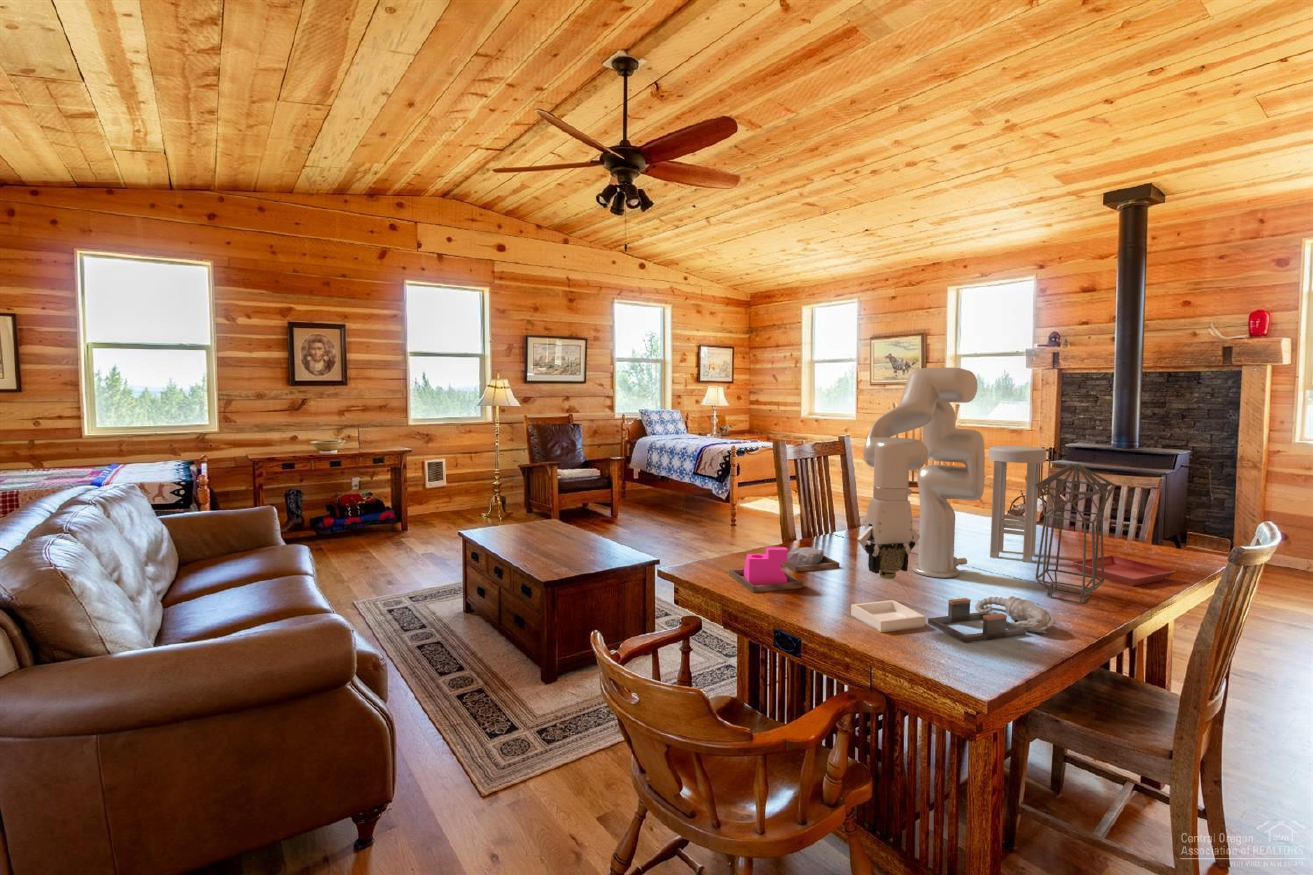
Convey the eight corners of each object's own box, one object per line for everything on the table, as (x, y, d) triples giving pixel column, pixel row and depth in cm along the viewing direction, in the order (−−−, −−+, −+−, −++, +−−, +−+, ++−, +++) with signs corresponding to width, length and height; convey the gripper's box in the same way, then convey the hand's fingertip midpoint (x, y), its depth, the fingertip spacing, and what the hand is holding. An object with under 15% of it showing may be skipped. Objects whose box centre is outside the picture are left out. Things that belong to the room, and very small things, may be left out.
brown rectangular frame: (811, 554, 210) (811, 549, 210) (839, 567, 194) (839, 562, 194) (770, 557, 206) (770, 552, 206) (795, 571, 190) (795, 566, 190)
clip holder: (984, 616, 153) (985, 595, 153) (1026, 634, 142) (1027, 612, 141) (927, 623, 149) (928, 602, 149) (965, 643, 137) (966, 620, 137)
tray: (892, 610, 158) (893, 599, 158) (924, 627, 147) (925, 616, 146) (851, 614, 155) (851, 604, 154) (880, 632, 143) (880, 621, 143)
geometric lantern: (1109, 597, 168) (1119, 463, 164) (1096, 613, 156) (1106, 470, 153) (1041, 583, 179) (1048, 457, 175) (1024, 597, 167) (1031, 464, 164)
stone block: (782, 569, 197) (814, 568, 192) (780, 553, 198) (811, 551, 192) (796, 562, 207) (826, 560, 202) (793, 547, 208) (824, 545, 202)
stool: (989, 547, 218) (994, 444, 215) (1043, 554, 209) (1048, 447, 206) (981, 557, 206) (986, 448, 203) (1037, 565, 197) (1043, 451, 194)
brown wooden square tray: (774, 570, 191) (774, 565, 191) (802, 587, 175) (802, 582, 175) (729, 574, 187) (729, 569, 187) (753, 592, 171) (753, 586, 171)
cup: (907, 583, 145) (908, 548, 144) (873, 581, 147) (874, 546, 146) (901, 574, 152) (902, 541, 152) (869, 572, 154) (870, 539, 153)
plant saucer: (1134, 589, 174) (1134, 577, 174) (1069, 572, 191) (1070, 561, 191) (1176, 582, 181) (1177, 570, 181) (1110, 565, 198) (1111, 555, 198)
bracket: (786, 587, 175) (787, 549, 174) (748, 586, 175) (749, 549, 174) (779, 574, 187) (779, 539, 186) (743, 573, 187) (744, 539, 186)
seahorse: (958, 607, 157) (1039, 622, 139) (985, 584, 162) (1067, 596, 144) (965, 626, 157) (1046, 643, 140) (992, 603, 163) (1074, 617, 145)
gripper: (912, 490, 154) (909, 564, 155) (848, 493, 149) (845, 569, 151) (933, 495, 147) (930, 572, 148) (867, 498, 142) (864, 578, 143)
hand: (888, 570), depth 149 cm, fingers closed on cup, 6 cm apart
